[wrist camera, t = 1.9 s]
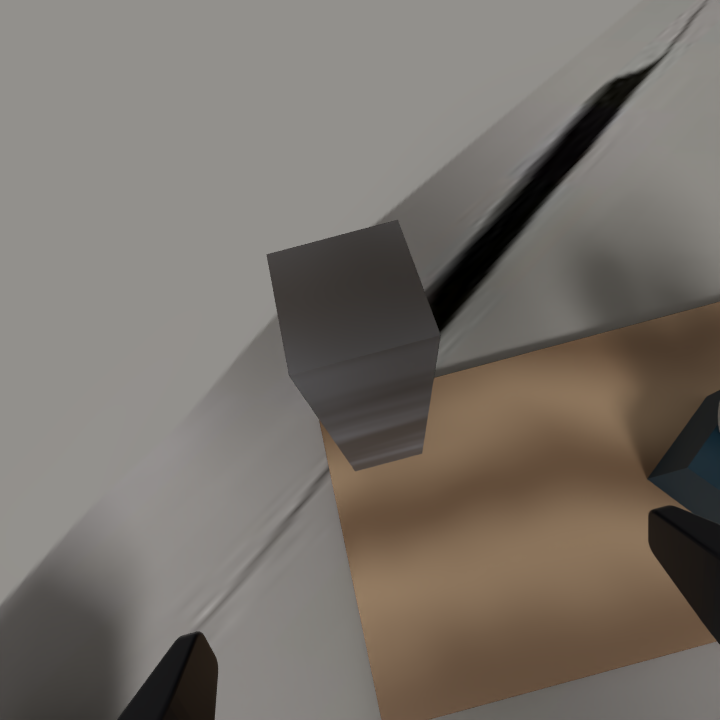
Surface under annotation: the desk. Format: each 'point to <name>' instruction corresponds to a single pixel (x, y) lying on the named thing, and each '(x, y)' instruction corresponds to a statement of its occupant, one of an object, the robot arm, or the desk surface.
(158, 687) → the robot arm
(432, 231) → the desk surface
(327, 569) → the desk surface
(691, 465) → the watch
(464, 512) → the pull board
